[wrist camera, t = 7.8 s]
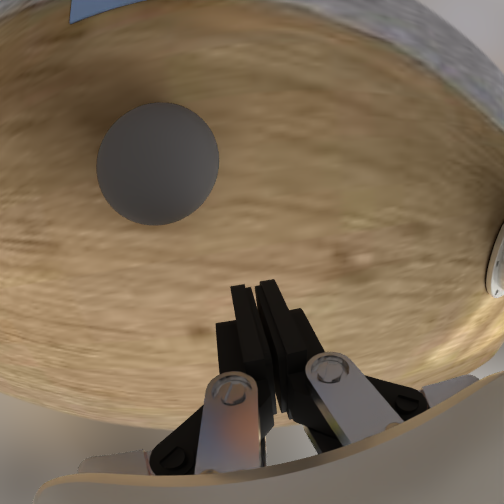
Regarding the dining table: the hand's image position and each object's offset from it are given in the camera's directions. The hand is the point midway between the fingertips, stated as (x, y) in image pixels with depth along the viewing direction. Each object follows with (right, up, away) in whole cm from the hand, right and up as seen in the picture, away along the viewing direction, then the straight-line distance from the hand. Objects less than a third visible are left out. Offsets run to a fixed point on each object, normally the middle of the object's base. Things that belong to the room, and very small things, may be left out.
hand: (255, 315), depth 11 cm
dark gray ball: (-4, +6, +1) cm, 8 cm away
